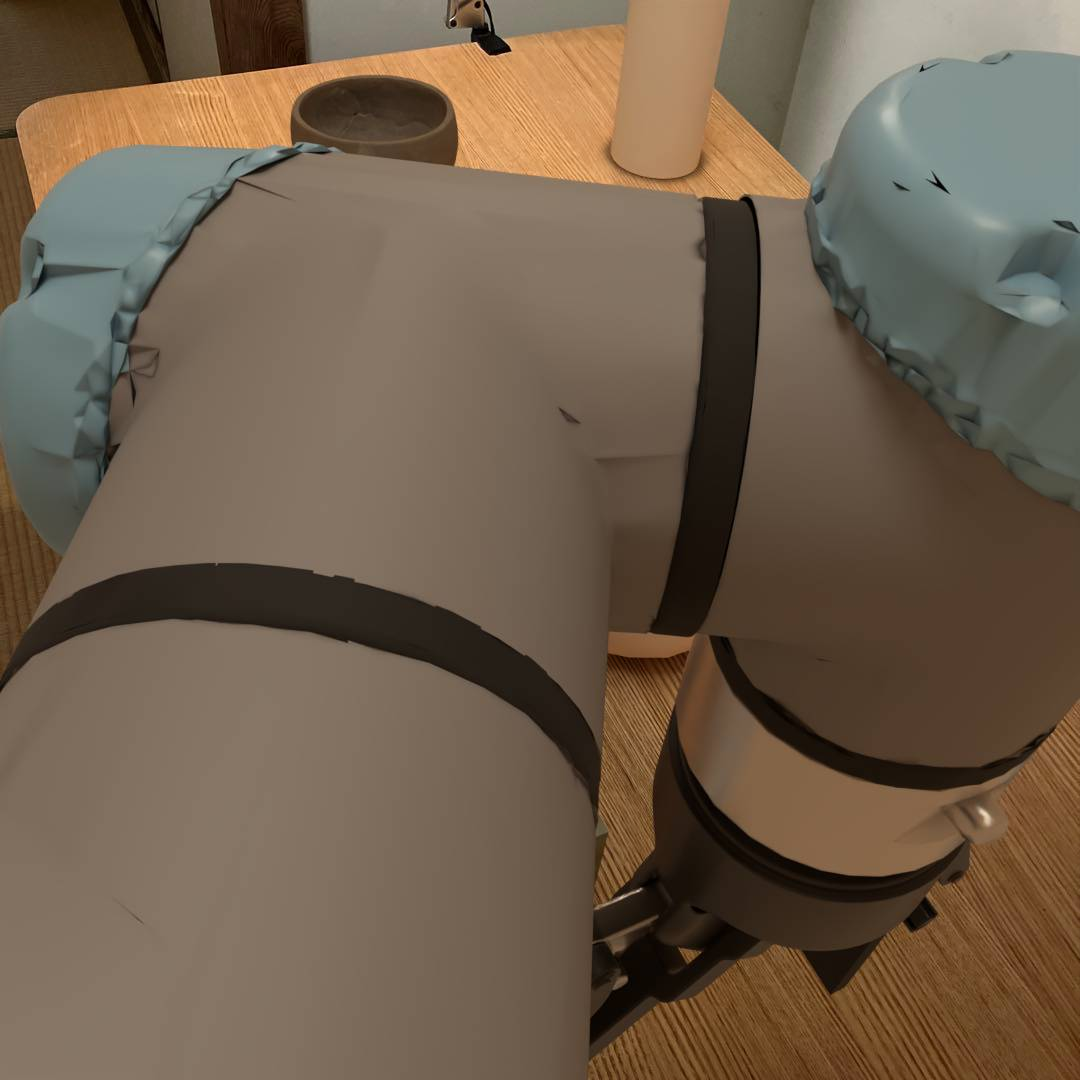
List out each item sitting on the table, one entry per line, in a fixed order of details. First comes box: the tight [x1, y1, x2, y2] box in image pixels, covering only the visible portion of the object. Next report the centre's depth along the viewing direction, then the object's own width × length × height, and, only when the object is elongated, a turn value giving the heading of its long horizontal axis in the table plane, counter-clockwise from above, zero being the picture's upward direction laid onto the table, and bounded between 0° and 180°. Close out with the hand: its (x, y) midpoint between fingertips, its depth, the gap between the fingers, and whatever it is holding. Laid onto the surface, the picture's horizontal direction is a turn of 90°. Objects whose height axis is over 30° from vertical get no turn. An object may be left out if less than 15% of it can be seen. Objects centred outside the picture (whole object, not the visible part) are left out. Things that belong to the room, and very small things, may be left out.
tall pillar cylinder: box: [610, 0, 731, 180], centre depth 120 cm, size 11×11×25 cm
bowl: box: [289, 74, 459, 166], centre depth 116 cm, size 17×18×10 cm
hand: (680, 1032), depth 42 cm, fingers open, 12 cm apart
